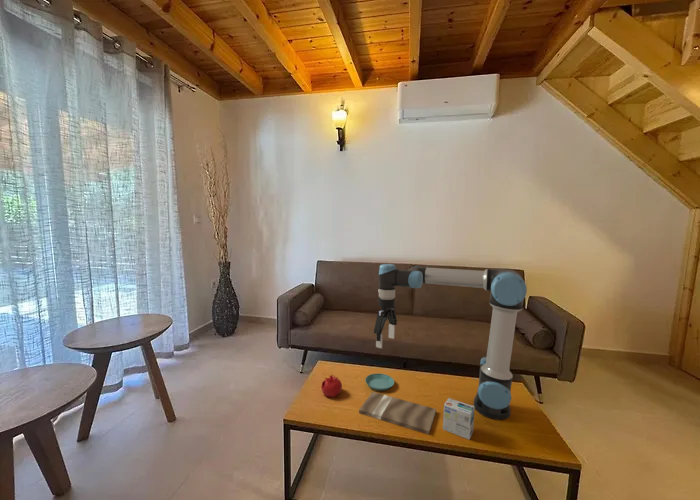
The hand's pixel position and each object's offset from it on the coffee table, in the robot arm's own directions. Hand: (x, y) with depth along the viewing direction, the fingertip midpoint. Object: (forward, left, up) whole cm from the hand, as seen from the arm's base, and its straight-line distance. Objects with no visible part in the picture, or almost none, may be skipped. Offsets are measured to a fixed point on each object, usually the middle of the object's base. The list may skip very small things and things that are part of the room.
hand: (385, 342), depth 143 cm
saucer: (+6, -10, -27) cm, 30 cm away
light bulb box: (-34, +8, -27) cm, 45 cm away
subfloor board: (-9, +8, -27) cm, 30 cm away
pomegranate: (+24, +8, -27) cm, 37 cm away
